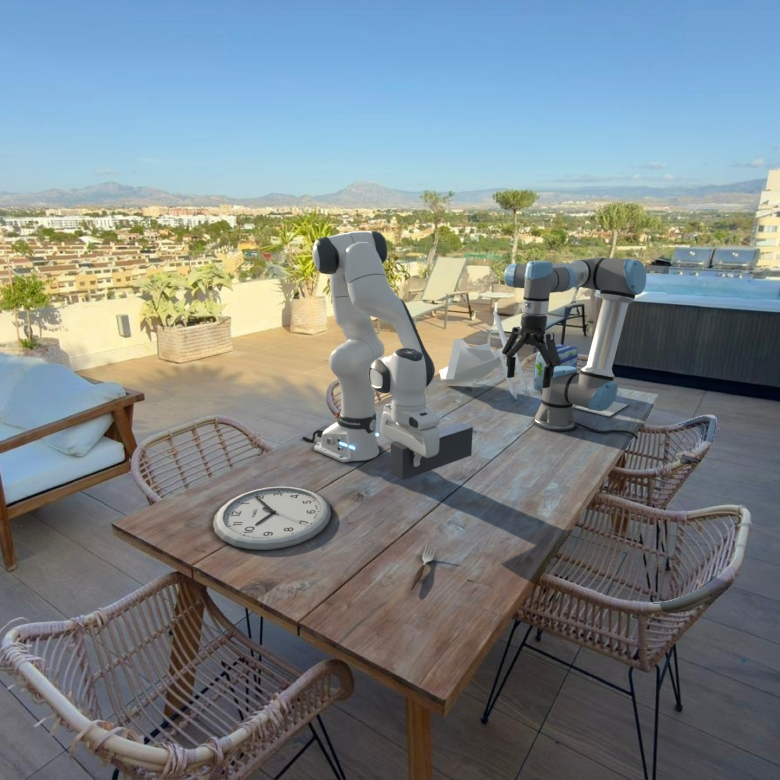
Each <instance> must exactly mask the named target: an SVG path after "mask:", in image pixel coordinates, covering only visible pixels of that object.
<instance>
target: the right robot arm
mask: <svg viewBox="0 0 780 780" xmlns="http://www.w3.org/2000/svg"><path fill="white" fill-rule="evenodd" d="M503 281H504V283H505V285H506V286H508V287H510V288H514V289H516V288H517V289H523V297H522V305H521V306H522V307H521V312H522V313H523V314H522V315H521V318H520V319H521V320H520V326H521V327H520V326H513V327H512V329H511V334H510V336H509V338H508V340H507V343H506V345H505V347H504V349H503V351H502V354H505V355H506V356H507V363H506V366H507V367H508V371H507V378H515V373H516V366H515V362H516V357H513V356H515V354H516V353H517V354H518V352H519V351H520V350H521V349H522V348H523V347H524V346H525V345H527V346H528V345H530V346H532V347H535V348H536V349H537V350H538V353H539V352H540V353H541V355H542V357H543V359H544V361H545V363H546V365H547V367H545V368H544V377H543V386H542V388H543V391H541V392H542V394H541V402H540V405H539V407H538V410H537V411H536V413H535V416H534V424H535V425H536V426H537V427H539V428H542V429H544V430H549V431H556V432H567V431H572V430H574V429H575V428H576V425H577V426H580V427H582V428H583V429H586V430H589V431H592V432H595V433H599V434H611V433H620V434H621V433H622V434H628V435H631V436H632V437H634V439H636V440H639V437H638V435H637V434H636V433H634V432H633V431H630V430H623V429H609V430H600V429H595V428H593V427H591V426H587V425H586V424H582V423H580V422H577V421H576V418H575V417H576V416H575V413H574V407H573V405H574V406H581V407H585V408H588V409H589V410H596V411H604V410H606V409H607V408H609V406H611V404H612V403H613V401H614V402H615V399H616V397H617V395H618V391H619V388H618V387H619V386H618V383H617V382H615V381H614V379H615V374H614V373H613V372H612V370H613V365H614V361H615V357H616V353H617V349H618V346H619V342H620V338H621V334H622V331H623V327H624V323H625V320H626V315H627V312H628V311H627V310H628V308H629V304H631V303H633V302H634V301H635V298H636V296H638V295H641V294H642V293H643V292H644V290H645V288H646V284H647V269H646V266H645V264H644V263H643V262H642V261H641V260H638V259H632V258H620V257H619V258H617V257H616V258H615V257H592V258H583V259H575V260H571V261H570V262H559V263H558V262H557V263H553V262H551V261H548V260H547V261H546V260H545V261H544V260H531V261H528V262H526V264H524V263H510V264H508V265H507V266H506V268H505V270H504V273H503ZM573 288H584V289H589V290H594V291H600V292H599V296H600V298H601V300H602V302H601V306H600V309H599V313H598V317H597V321H596V325H595V329H594V333H593V336H592V337H593V338H592V341H591V345H590V350H589V353H588V357H587V361H586V365H585V366H583V367H582V368H580V371H578V368H577V367H576V368H575V367H572V366H560V365H561V362H560V358H559V355H558V352H557V348H556V345H557V344H556V342H555V333H554V332H550V333H547V332H546V328H547V324H548V316H547V315H548V314H549V306H550V294H553V293H564V292H568V291H570V290H572V289H573ZM519 336H520V338H519ZM518 338H519V339H518ZM513 346H514V347H513ZM512 347H513V348H512ZM547 348H548V349H547ZM578 372H579V373H578Z"/></svg>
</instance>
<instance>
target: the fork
mask: <svg viewBox="0 0 780 780" xmlns="http://www.w3.org/2000/svg"><path fill="white" fill-rule="evenodd" d="M428 545H429V546H428ZM431 545H432V547H431ZM434 545H435V544H434V543H431V542H430V543H429V542H427V544H426V546H425V549H424V552H423V555H422V561H423V564H422V565H421V566H420V568H419V569H418V570H417V572H416V575H415V576H414V579H413V583H412V585H411V589H410V591H413V589H415V587H416V585H417V583H418V582H419V580H420V579H421V577H422V575H423V573H424V570H425V566H426V564H428V563H431V562H432V561H434V560H435V554H436V549H437V545H438V544H436V545H435V548H434ZM430 549H431V550H430ZM433 549H434V551H433Z"/></svg>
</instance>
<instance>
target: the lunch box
mask: <svg viewBox="0 0 780 780" xmlns="http://www.w3.org/2000/svg"><path fill="white" fill-rule="evenodd" d="M555 345H556V348H557V352H558V355H559V358H560V362H561V365H560V366H572V367H575V368H577V366H578V356H579V354H578V353H579V352H578V347H577V346H571V345H565V344H555ZM547 349H548V348H547ZM545 367H547V365H546V363H545V361H544V359H543V357H542V355H541V353H540V352H539V351H538V353H537V354H536V357H535V361H534V371H533V372H534V373H533V389H534V390H535V391H539V392H542V391H543V388H542V386H543V377H544V368H545Z"/></svg>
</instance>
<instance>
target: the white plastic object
mask: <svg viewBox="0 0 780 780" xmlns="http://www.w3.org/2000/svg"><path fill="white" fill-rule="evenodd" d="M492 315H493V319H494V321H495V324H496V325H495V326H496V328H497V332H498V335H499V338H500V342H501V345H502V347H500V348H498V349H496V350H495V349H493V348H492V347H491V346H490V344H489V343H488V342H487V343H483V344H479V345H473V346H469V345H468V343H466V342H465V340H464V339H463V338H460V339H458V338H454V340H453V344H452V349H451V353H450V357H449V362H448V366H446V367H444V368H442V369H440V370H439V371H438V372H439V376H440V381H442V383H443V384H444V385H445V386H449V385H458V384H467V383H468V384H469V383H473V384H477V383H480V382H482V381H484V378H485V377H486V376H487V375H489V374H490V373H492V372H494V371H495V370H496V369H497V368H499V367H500V366H502V370H503V373H504V376H505V380H506V383H507V386H508V390H509V393H510V394H511V395H512V397H513V398H514V399H515V400H517V392H516V391H517V390H516V388H515V385H514V381H513V377H511V378H507V371H508V367H507V366H506V363H507V356H506V355H505V354H502V351H503V349H504V347H505V345H506V343H507V341H508V340H507V337H506V334H505V331H504V328H503V325H502V321H501V318H500V315H499V314H498V312H497V311H496V310H495V311H492ZM513 347H514V345H513ZM513 347H512V348H513ZM513 357H516V362H515V370H516V372H517V376H518V380H519V382H520V385H521V389H522V391H523V393H524V395H525V396H526V397H528V396H531V395H530V390H529V388H528V387H529V386H528V384H527V381H526V378H525V375H524V371H523V369H522V368H523V367H522V366H521V362H520V359H519V355H518V352H517V353H516V354H515V356H513Z"/></svg>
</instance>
